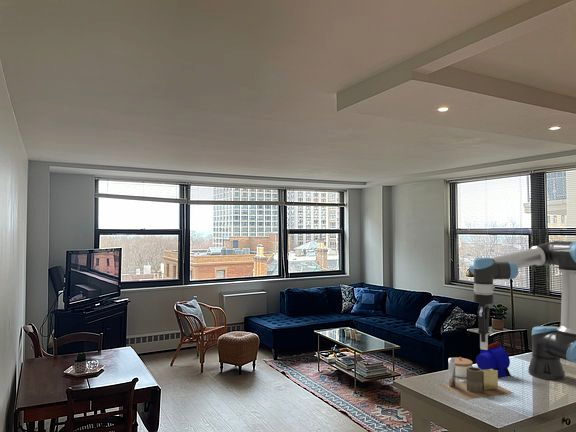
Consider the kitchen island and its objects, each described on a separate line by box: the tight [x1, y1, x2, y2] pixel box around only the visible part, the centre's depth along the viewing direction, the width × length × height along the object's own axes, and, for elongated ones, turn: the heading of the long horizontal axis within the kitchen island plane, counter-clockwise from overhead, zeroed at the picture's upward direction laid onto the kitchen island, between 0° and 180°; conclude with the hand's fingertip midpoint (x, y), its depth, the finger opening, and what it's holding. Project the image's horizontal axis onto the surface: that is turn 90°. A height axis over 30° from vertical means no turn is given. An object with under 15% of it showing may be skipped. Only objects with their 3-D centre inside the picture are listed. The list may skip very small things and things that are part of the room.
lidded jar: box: [454, 356, 474, 378], centre depth 202 cm, size 11×11×9 cm
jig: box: [438, 366, 514, 400], centre depth 184 cm, size 24×18×10 cm
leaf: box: [483, 370, 499, 390], centre depth 182 cm, size 7×1×8 cm, turn 103°
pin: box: [447, 357, 457, 387], centre depth 186 cm, size 3×3×12 cm
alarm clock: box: [475, 341, 512, 379], centre depth 207 cm, size 12×12×15 cm
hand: (483, 349), depth 181 cm, fingers closed
